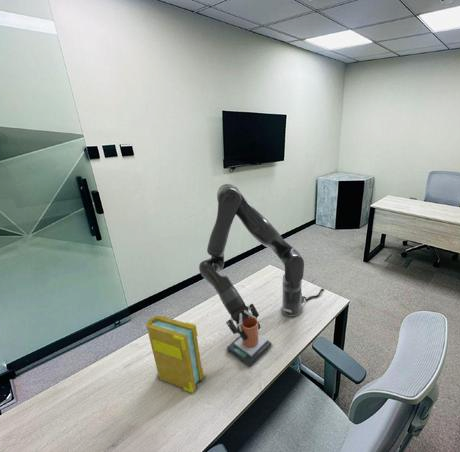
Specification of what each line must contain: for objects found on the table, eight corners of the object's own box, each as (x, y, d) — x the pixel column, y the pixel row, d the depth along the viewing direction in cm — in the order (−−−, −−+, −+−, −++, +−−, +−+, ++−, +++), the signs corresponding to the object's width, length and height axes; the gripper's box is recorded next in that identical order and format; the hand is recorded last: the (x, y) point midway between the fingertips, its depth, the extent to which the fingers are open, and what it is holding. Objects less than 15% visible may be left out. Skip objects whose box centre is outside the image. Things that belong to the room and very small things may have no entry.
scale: (249, 332, 121) (249, 326, 120) (271, 345, 114) (271, 340, 113) (227, 350, 111) (226, 344, 110) (249, 366, 104) (249, 361, 103)
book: (204, 376, 100) (195, 324, 90) (192, 393, 94) (182, 339, 85) (167, 363, 105) (156, 313, 96) (154, 378, 99) (141, 326, 90)
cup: (250, 332, 117) (249, 314, 113) (262, 340, 113) (261, 321, 109) (239, 342, 112) (237, 323, 108) (250, 350, 108) (249, 331, 104)
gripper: (221, 305, 104) (244, 343, 102) (248, 288, 114) (269, 322, 112) (214, 310, 109) (235, 346, 107) (240, 294, 119) (260, 326, 117)
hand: (252, 333), depth 109 cm, fingers closed on cup, 7 cm apart
